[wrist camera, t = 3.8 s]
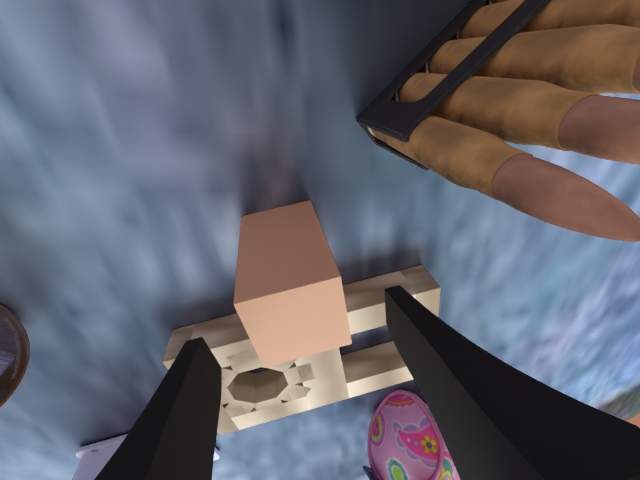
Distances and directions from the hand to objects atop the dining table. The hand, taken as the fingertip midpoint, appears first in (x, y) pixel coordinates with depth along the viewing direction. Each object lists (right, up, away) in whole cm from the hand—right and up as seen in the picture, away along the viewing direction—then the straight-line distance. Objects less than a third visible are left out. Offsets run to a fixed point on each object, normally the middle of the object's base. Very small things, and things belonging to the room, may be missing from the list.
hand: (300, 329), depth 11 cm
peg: (-1, +4, +6) cm, 7 cm away
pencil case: (+15, -17, +23) cm, 33 cm away
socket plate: (0, -5, +11) cm, 12 cm away
